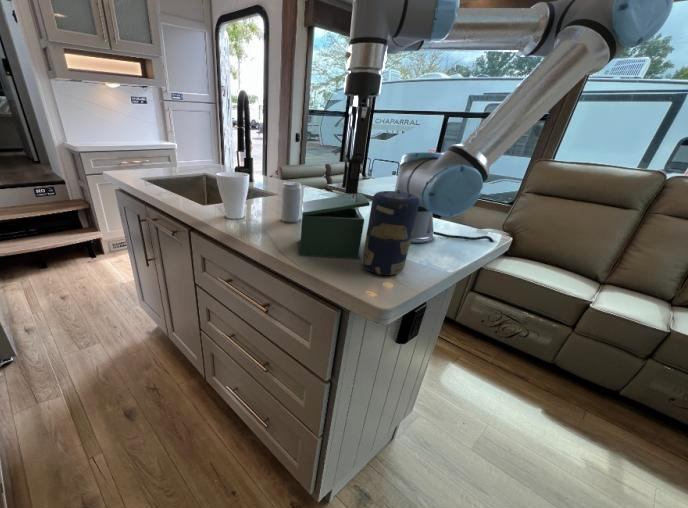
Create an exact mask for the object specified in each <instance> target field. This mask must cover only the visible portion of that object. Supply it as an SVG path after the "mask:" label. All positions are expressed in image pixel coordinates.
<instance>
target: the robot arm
mask: <svg viewBox="0 0 688 508" xmlns="http://www.w3.org/2000/svg"><path fill="white" fill-rule="evenodd" d="M674 2H675V0H554V1H539V2H537V3H535V4H534V5H532V6H531V7H530V8H529V7H504V8H503V7H460V0H353V1H352V13H351V22H350V33H349V42H348V43H349V44H348V51H345V53H344V57H345V59H348V60H347V62H346V71H347V72H348V73H347V74H346V75H345V78H344V87H343V94H344V96H347V97H353V101H352V105H351V106H349V109H348V115H349V117H348V124H347V134H346V142H345V150H344V157H345V158H344V167H343V175H342V183H341V189H344V194H357V189H359V183H360V174H361V169H362V167H361V166H362V163H363V161H364V160H365V153H366V152H365V151H366V144H367V136H368V130H369V129H368V128H369V123H370V122H369V121H370V115H371V112H372V108H371V106H369V98H376V97H379V96H380V94H381V89H382V84H383V75H382V74H381V73H382V72H384V71H385V64H386V59H387V55H396V54H398V53H400V52H514V53H515V55H516V56H518V57H528V58H529V57H532V58H543V59H541V61H539V63H538V64H537V65H536V67H534V68H533V69H532V70H531V72H529V74H528V75H526V77H524V79H522V80H521V82H520V83H518V85H517V86H515V88H514V89H513V90H512V91H511V92H510V93H509V94H508V95H507V96H506V97H505V98H504V99H503V100H502V102H500V103H499V104H498V105H497V107H495V109H493V111H492V112H491V113H490V114H488V116H487V117H486V118H485V119H484V120H483V121H482V122H481V123H480V124H479V126H477V127H476V128H475V129H474V130H473V131H472V132H471V134H469V135H468V136H467V138H466V139H465V140H463V142H461V143H457V144H455V143H454V144H451V145H450V146H449V147H448V148H447V149H446V150H445V151H444V152H425V151H424V152H422V151H421V152H407V153H404V154H403V155H402V157H401V159H400V163H399V165H398V171H397V175H396V176H397V177H396V183H395V186H394V191H396V190H397V189H399V190H400V192H405V193H409V194H413V195H415V196H417V197H418V198H419V207H418V211H417V216H416V220H415V224H414V228H413V233H412V237H411V243H410V244H424V243H428V242H432V240H433V237H434V236H438V237H443V238H449V239H459V240H466V241H479V240H488V241H489V242H491V243H494V242H495V241H494V239H493V238H492V237H491V236H489V235H481V236H472V237H471V236H464V235H454V234H447V233H443V232H438V231H434V218H433V217H434V215H437V216H441V217H455V216H458V215H461V214H464V213H465V212H467V211H468V210H469V209H471V208H472V207H473V206H474V205H475V204H476V203H477V201H478V200H479V199H480V197H481V195H482V193H481V190H483V188H484V183H485V182H486V181H487V180H488V179H489V177H490V168H491V167H492V166H493V165H494V164H495V163H496V162H498V160H500V158H501V157H502V156H503V155H504V154H506V152H507V151H508V150H510V149H511V148H512V147H513V146H514V145H515V144H516V143H517V142H518V141H519V140H520V139H521V138H523V136H524V135H525V134H526V133H527V132H528V131H529V130H530V129H531V128H532V127H533V126H535V124H537V123H538V121H540V120H541V119H542V118H543V117H544V116H545V115H546V114H547V113H548V112H549V111H550V110H551V109H553V107H554V106H555V105H557V103H558V102H559V101H560V100H561V99H562V98H563V97H564V96H565V95H566V94H568V92H570V90H572V89H573V88H574V87H575V86H576V85H577V84H578V83H579V82H580V81H581V80H582V79H583V78H584V77H585V76H586V75H587V76H588V75H592V74H597V73H599V72H600V71H602V70H603V69H604V68H605V67H606V66H608V65H609V63H610V62H612V61H613V60H614V59H615V58H616V57H617V56H618V55H619V54H620V53H621V52H622V51H624V50H625V49H629V48H631V49H632V48H636V47H638V46H640V45H643V44H644V43H646V42H647V41H649V40H651V39H652V38H653V37H655V35H656V34H657V33H658V32H659V31H660V30H661V29H662V28H663V26H664V25H665V23H666V22H667V21H668V19H669V16H670V14H671V12H672V10H673V8H674V7H673V6H674ZM347 163H348V167H347Z"/></svg>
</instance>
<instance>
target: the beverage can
mask: <svg viewBox="0 0 688 508" xmlns="http://www.w3.org/2000/svg"><path fill="white" fill-rule="evenodd" d="M282 184H283V185H282V186H281V202H280V203H281V204H280V219H281V220H282V221H283V222H285V223H288V224H290V223H292V224H294V223H297V222H299V221H300V220H301V212H302V211H301V210H302V192H303V191H302V190H303V188H302V186H301V185H302V183H301V182H297V181H285V182H283V183H282Z"/></svg>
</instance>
